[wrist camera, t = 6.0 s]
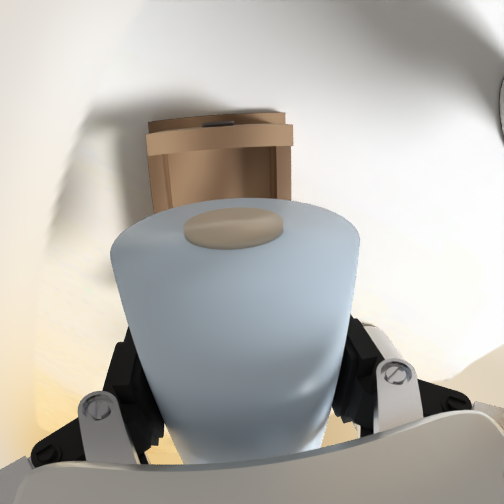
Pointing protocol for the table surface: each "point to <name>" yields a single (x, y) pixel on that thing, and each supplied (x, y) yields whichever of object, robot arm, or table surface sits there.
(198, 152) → the holder
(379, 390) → the robot arm
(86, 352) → the table surface
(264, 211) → the cylinder
